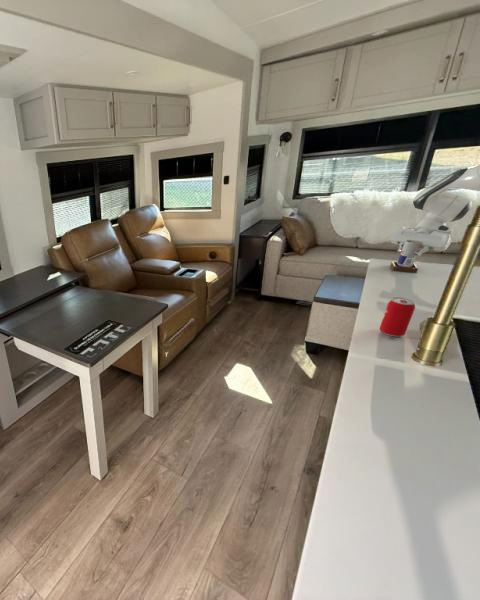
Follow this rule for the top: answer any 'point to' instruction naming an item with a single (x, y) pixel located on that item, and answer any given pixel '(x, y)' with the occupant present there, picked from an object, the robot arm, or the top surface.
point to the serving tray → (404, 268)
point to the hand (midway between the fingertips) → (408, 253)
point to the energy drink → (408, 253)
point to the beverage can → (397, 316)
